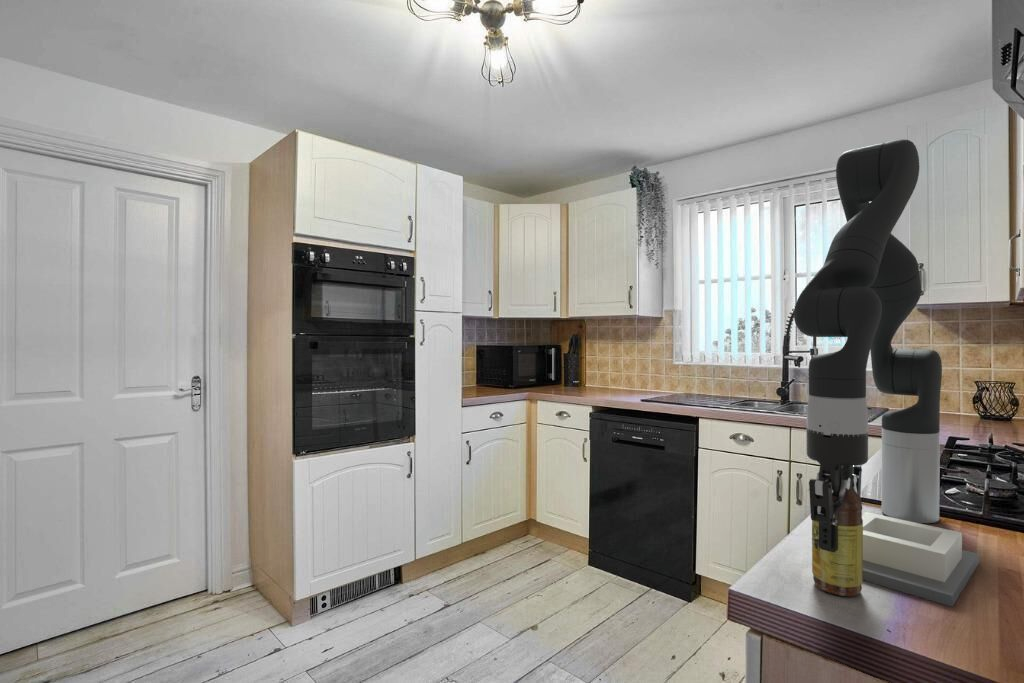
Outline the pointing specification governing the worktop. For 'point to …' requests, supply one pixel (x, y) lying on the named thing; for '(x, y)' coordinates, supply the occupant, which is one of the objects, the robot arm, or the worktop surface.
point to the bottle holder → (916, 558)
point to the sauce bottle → (841, 548)
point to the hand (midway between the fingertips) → (836, 543)
